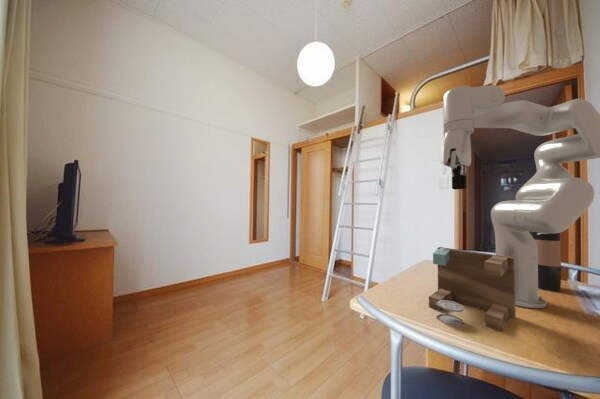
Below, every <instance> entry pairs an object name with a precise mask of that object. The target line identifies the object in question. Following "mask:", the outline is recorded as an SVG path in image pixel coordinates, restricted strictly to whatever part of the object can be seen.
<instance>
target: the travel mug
mask: <svg viewBox="0 0 600 399" xmlns="http://www.w3.org/2000/svg"><path fill="white" fill-rule="evenodd" d="M528 232H529V231H528ZM529 233H530V234H531V236H532V237H533V238H534V240H535V242H536V244H537V249H538V253H537V254H538V290H542V291H543V290H544V291H548V290H549V291H550V292H560V291H561V286H562V285H561V284H562V282H561V281H562V280H561V279H562V258H561V257H562V256H561V254H562V253H561V233H554V234H551V233H539V232H529Z"/></svg>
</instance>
